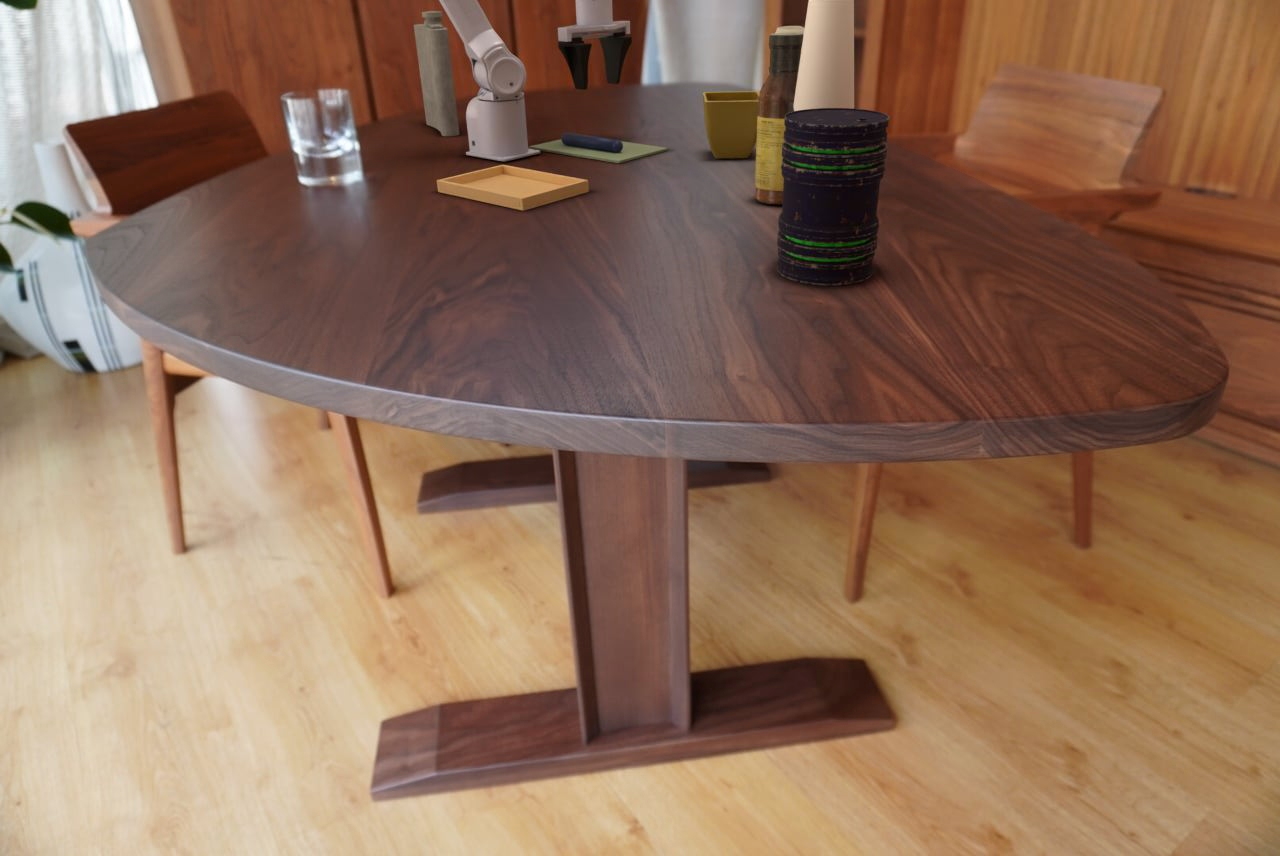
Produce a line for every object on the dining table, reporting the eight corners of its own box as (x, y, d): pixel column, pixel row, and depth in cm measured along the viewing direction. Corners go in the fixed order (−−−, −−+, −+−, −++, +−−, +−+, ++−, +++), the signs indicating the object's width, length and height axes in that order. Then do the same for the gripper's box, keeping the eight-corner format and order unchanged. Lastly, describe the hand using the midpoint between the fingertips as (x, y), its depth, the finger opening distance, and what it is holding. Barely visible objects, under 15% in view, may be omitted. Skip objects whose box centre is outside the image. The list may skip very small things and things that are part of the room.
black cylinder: (755, 270, 92) (761, 117, 85) (813, 249, 98) (823, 104, 91) (837, 293, 86) (851, 129, 79) (893, 268, 92) (911, 114, 85)
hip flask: (425, 123, 174) (410, 9, 165) (445, 121, 176) (432, 8, 166) (443, 137, 162) (428, 14, 152) (466, 134, 163) (452, 12, 154)
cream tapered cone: (776, 217, 110) (787, -2, 98) (825, 211, 112) (841, -4, 100) (804, 232, 104) (820, 1, 93) (855, 225, 106) (876, -1, 95)
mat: (529, 148, 150) (528, 146, 150) (579, 137, 158) (579, 135, 158) (619, 163, 139) (619, 160, 139) (668, 150, 147) (668, 147, 147)
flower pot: (761, 161, 138) (764, 99, 134) (704, 162, 138) (704, 100, 134) (756, 150, 146) (758, 90, 141) (701, 150, 146) (702, 91, 142)
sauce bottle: (801, 207, 114) (812, 35, 104) (751, 206, 115) (758, 36, 105) (804, 194, 119) (814, 30, 110) (756, 193, 120) (762, 31, 111)
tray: (437, 192, 125) (436, 180, 124) (503, 175, 133) (502, 164, 133) (523, 210, 115) (522, 198, 114) (588, 191, 123) (588, 180, 123)
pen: (567, 143, 152) (559, 145, 150) (566, 131, 151) (558, 133, 150) (625, 152, 144) (617, 154, 143) (625, 139, 143) (617, 141, 142)
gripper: (579, -4, 133) (584, 93, 140) (643, -9, 143) (645, 82, 149) (545, -5, 137) (552, 90, 144) (610, -10, 147) (613, 79, 153)
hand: (597, 86), depth 147 cm, fingers open, 7 cm apart
